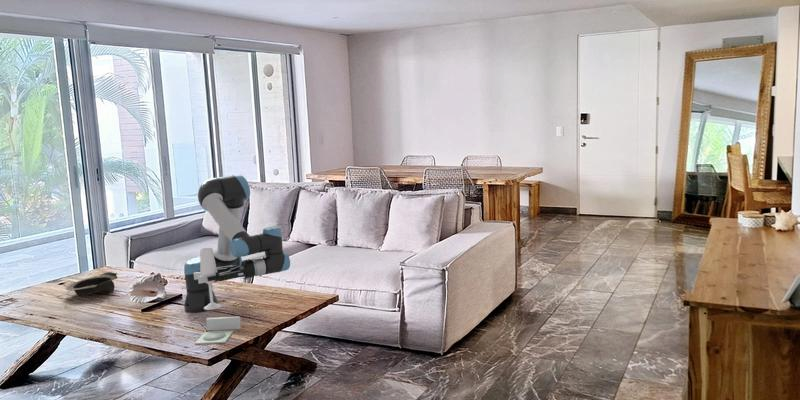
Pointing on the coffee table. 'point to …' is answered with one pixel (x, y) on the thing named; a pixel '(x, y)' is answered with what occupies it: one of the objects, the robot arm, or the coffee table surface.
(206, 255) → the champagne flute
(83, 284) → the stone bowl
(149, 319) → the coffee table surface
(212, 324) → the low wall
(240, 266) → the robot arm
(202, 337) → the resting pad
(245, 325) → the coffee table surface
